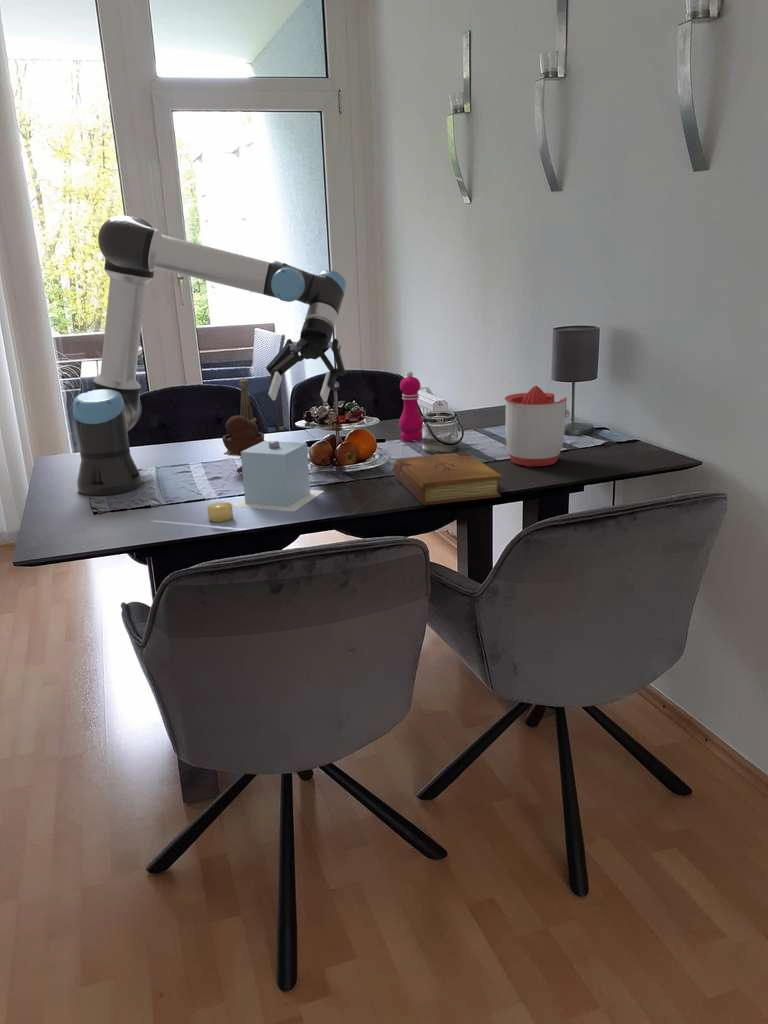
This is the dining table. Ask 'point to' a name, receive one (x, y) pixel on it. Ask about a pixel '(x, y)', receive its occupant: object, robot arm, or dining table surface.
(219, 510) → the yellow short cylinder
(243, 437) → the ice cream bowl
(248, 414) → the eiffel tower
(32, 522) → the dining table surface
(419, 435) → the pepper mill
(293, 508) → the mat
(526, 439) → the citrus juicer
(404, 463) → the diary
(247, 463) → the cover
